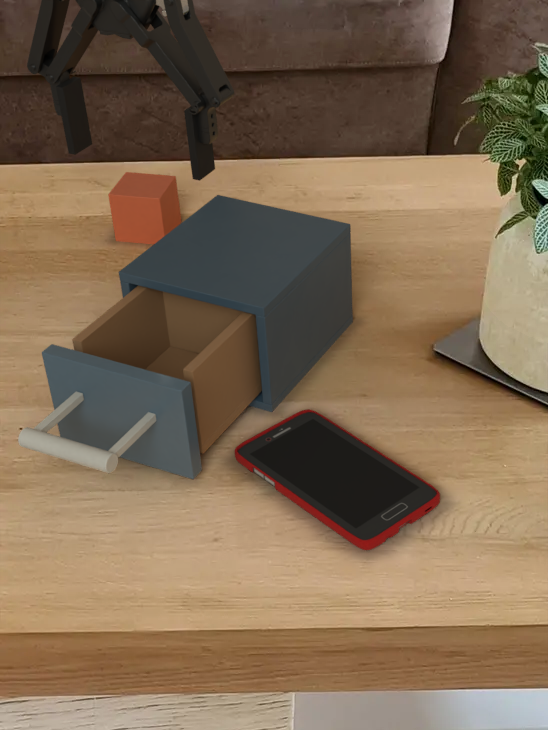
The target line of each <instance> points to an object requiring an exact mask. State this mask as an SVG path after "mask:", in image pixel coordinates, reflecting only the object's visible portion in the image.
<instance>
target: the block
mask: <svg viewBox="0 0 548 730" xmlns="http://www.w3.org/2000/svg"><path fill="white" fill-rule="evenodd" d="M108 201H109V207H110V214H111V221H112V225H113V227H112V228H113V232H114V237H115V239H114V240H115V242H122V243H123V242H124V243H135V244H136V243H137V244H146V245H147V244H148V245H154V244H155V243H156V242H158V241H159V240H160V239H162V238H163V237H164V236H165V235H167V234H168V233H169V232H171V231H172V230H173V229H174V228H176V227H177V226H178V225H180V224H181V223H182V215H181V208H180V206H181V205H180V199H179V192H178V182H177V176H176V175H170V174H169V175H168V174H156V173H155V174H154V173H142V172H134V171H133V172H131V171H126V172H124V174H123V175H122V176H121V178H120V179H119V180H118V182H116V184H115V185H114V186H113V188H112V189H111V190H110V191H109V193H108Z"/></svg>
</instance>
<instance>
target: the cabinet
mask: <svg viewBox="0 0 548 730" xmlns="http://www.w3.org/2000/svg"><path fill="white" fill-rule="evenodd" d="M351 226H352V225H351V223H349V222H348V223H347V222H343V221H338V220H334V219H330V218H324V217H321V216H315V215H312V214H307V213H302V212H297V211H293V210H289V209H283V208H281V207H275V206H270V205H266V204H262V203H257V202H253V201H248V200H243V199H239V198H234V197H231V196H230V197H229V196H225V195H220V194H216V195H215V196H214V197H212V198H211V200H209V201H208V202H206V203H205V204H204V205H203V206H201V207H200V208H199V209H197V210H196V211H195V212H193V213H192V214H191V215H190V216H188V217H187V218H185V220H183V221H181V223H180V225H178V226H177V227H176V228H174V229H173V230H172V231H171V232H169V233H168V234H167V235H165V236H164V237H163V238H162V239H160V240H159V241H158V242H156V243H155V244H152V246H150V247H148V248H147V249H146V250H145V251H143V252H142V253H141V254H139V255H138V256H137V257H136V258H134V259H133V260H132V261H131V262H129V263H128V264H127V265H126V266H124V267H123V268H122V269H120V270H119V271H118V278H119V281H120V282H119V283H120V289H121V294H122V298H124V297H125V296H126V295H127V294H128V293H130V292H131V291H132V290H133V289H135V288H136V287H137V286H138V285H139V286H143V287H147V288H151V289H155V290H159V291H163V292H167V293H171V294H175V295H179V296H183V297H187V298H191V299H195V300H199V301H203V302H207V303H211V304H215V305H219V306H223V307H227V308H231V309H235V310H239V311H243V312H247V313H251V314H255V315H256V326H257V337H258V349H259V361H260V373H261V384H262V391H261V392H260V393H259V394H258V396H257V397H256V398H255V399H254V400H253V401H252V402H251V403H250V404H249V405H248V406H247V407H251V408H255V409H259V410H262V411H266V412H269V413H274V411H275V410H276V408H278V407H279V405H280V404H281V403H282V402H284V400H285V399H286V397H288V395H289V394H290V393H291V392H292V391H293V390H294V389H295V388H296V387H297V385H298V384H299V383H300V382H301V381H302V380H303V379H304V378H305V376H306V375H307V374H308V373H309V372H310V371H311V370H312V369H313V367H314V366H315V365H316V364H317V363H318V362H319V361H320V360H321V359H322V358H323V356H324V355H325V354H326V353H327V352H328V351H329V350H330V348H332V346H333V345H334V344H335V343H336V342H337V340H338V339H339V338H341V336H342V335H343V334H344V333H345V332H346V331H347V330H348V328H350V326H352V324H353V323H354V315H353V314H354V313H353V280H352V279H353V278H352V277H353V276H352V275H353V273H352V271H353V270H352V236H351V232H352V229H351Z"/></svg>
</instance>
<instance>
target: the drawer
mask: <svg viewBox="0 0 548 730" xmlns="http://www.w3.org/2000/svg"><path fill="white" fill-rule="evenodd" d="M71 340H72V346H73V349H71V348H68V347H65V346H61V345H58V344H55V343H51V344H49V345H48V347H46V348H45V349H43V350H42V351H41V356H42V361H43V366H44V370H45V374H46V380H47V383H48V387H49V388H48V389H49V392H50V397H51V401H52V406H53V411H51V412H50V413H49V414H48V415H47V416H45V418H44V419H42V420H41V421H39V422H38V424H37V425H35V426H34V427H33V428H32V427H28V426H26V427H24V428H23V429H21V431H20V432H19V434H18V437H17V441H18V445H19V446H20V447H21V448H24V449H28V450H31V451H34V452H36V453H40V454H43V455H46V456H50V457H53V458H56V459H60V460H63V461H67V462H70V463H73V464H76V465H79V466H82V467H86V468H90V469H92V470H96V471H100V472H102V473H106V474H112V473H113V472H114V471H116V469H117V468H118V463H119V458H120V459H122V460H123V459H124V460H127V461H129V462H133V463H137V464H140V465H144V466H147V467H150V468H153V469H157V470H161V471H164V472H167V473H170V474H173V475H177V476H181V477H183V478H187V479H190V480H195V478H197V476H198V475H199V474H200V473H201V472H202V471H203V466H202V460H201V459H202V458H201V454H202V455H204V454H205V453H206V451H207V450H208V449H209V448H210V447H212V445H213V444H214V443H215V442H216V441H217V440H218V439H219V437H221V436H222V435H223V433H224V432H225V431H226V430H227V429H228V428H229V427H230V426H231V425H232V424H233V423H234V422H235V420H236V419H237V418H238V417H239V416H240V415H241V414H242V413H244V411H245V410H246V409H247V408H248V407H249V406H248V405H249V404H250V403H251V402H252V401H253V400H254V399H255V398H256V397H257V396H258V394H259V393H260V392H261V391H262V384H261V373H260V361H259V349H258V337H257V326H256V315H255V314H251V313H247V312H243V311H239V310H235V309H231V308H227V307H223V306H219V305H215V304H211V303H207V302H203V301H199V300H195V299H191V298H187V297H183V296H179V295H175V294H171V293H167V292H163V291H159V290H155V289H151V288H147V287H143V286H139V285H138V286H137V287H136V288H135V289H133V290H132V291H131V292H130V293H128V294H127V295H126V296H125V297H124V298H123V297H122V298H121V299H120V300H119V301H116V303H115V304H114V305H112V306H111V307H110V308H109V309H107V310H106V311H105V312H104V313H102V314H101V315H100V316H99V317H98V318H96V319H95V320H94V321H92V322H91V323H90V324H89V325H87V326H86V327H85V328H84V329H83V330H81V331H80V332H79V333H78V334H76V335H75V336H74V337H72V338H71ZM56 425H57V429H58V433H59V435H56V434H53V433H49V432H50V431H51V430H52V429H53V428H54V427H56Z"/></svg>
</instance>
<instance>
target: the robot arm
mask: <svg viewBox="0 0 548 730" xmlns="http://www.w3.org/2000/svg"><path fill="white" fill-rule="evenodd" d="M74 1H75V2H76V3H77V5H78V6H79V8H80V10H79V11H78V13H77V14H76V16H75V17H74V20H73V21H72V23H71V24H70V30H69V32H68V33H67V35H66V36H65V39H64V41H63V42H62V44H61V45H60V41H61V38H62V34H63V30H64V27H65V22H66V18H67V12H68V9H69V5H70V0H41V1H40V5H39V10H38V15H37V19H36V24H35V27H34V32H33V37H32V41H31V46H30V49H29V54H28V57H27V58H28V59H27V63H26V68H27V70H28V71H29V73H31V74H32V75H37V74H39V75H40V76H41V77H44V79H45V81H46V83H49V87H50V92H51V96H52V101H53V106H54V107H53V108H54V110H55V113H56V115H57V116H60V117H61V121H62V126H63V132H64V136H65V143H66V147H67V152H68V154H70V155H78V154H79V153H81V152H83V151H84V150H85V149H87V148H88V147H90V146H92V145H93V140H92V135H91V129H90V123H89V118H88V112H87V106H86V100H85V95H84V88H83V83H82V78H81V77H79V76H78V77H77V76H72V77H71V78H70V76H71V75H73V74H75V73H76V72H77V70H75V69H76V67H77V66H78V64H79V63H80V61H81V60H82V58H83V57H84V55H85V53H86V51H87V50H88V48H89V46H90V44H91V43H92V42H93V40H94V38H95V36H97V33H98V32H99V34H100V35H103V36H112V35H113V36H114V35H115V36H117V37H120V38H122V39H127V40H132V39H134V40H135V41H136V43H138V45H139V46H140V47H141V48H143V49H146V50H148V52H149V53H150V55H151V56H152V57H153V59H154V60H155V61H156V62H157V64H158V65H159V66H160V67H161V69H162V70H163V71H164V73H165V74H166V76H168V78H169V80H171V82H172V83H173V85H174V86H175V87H176V88H177V90H178V91H179V92H180V94H181V95H182V96H183V97H184V99H185V100H186V101H187V103H188V104H189V105H190V106H189V107H187V108H186V109H184V111H183V112H184V120H185V128H186V137H187V144H188V145H187V146H188V154H189V161H190V168H191V177H192V180H194V181H201V180H203V179H204V178H205V177H207V176H208V175H209V174H211V173H212V172H213V171H215V170H216V164H215V154H214V146H213V142H215V141H216V140H217V139H218V137H219V128H218V119H217V108H219V107H220V106H222V105H224V104H226V103H227V102H228V101H229V100H231V99H232V98H234V96H235V90H234V88H233V85H232V84H231V81H230V79H229V78H228V76H227V74H226V72H225V69H224V68H223V66H222V64H221V62H220V60H219V58H218V56H217V54H216V52H215V50H214V48H213V46H212V44H211V42H210V39H209V38H208V36H207V34H206V32H205V30H204V28H203V26H202V24H201V22H200V19H199V18H198V15H197V14H196V11H195V6H194V0H74ZM160 8H161V11H159V9H160ZM165 18H166V19H167V20H166V19H165ZM150 26H151V27H152V30H150V31H149V30H148V29H149V28H150ZM59 46H60V47H59Z"/></svg>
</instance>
